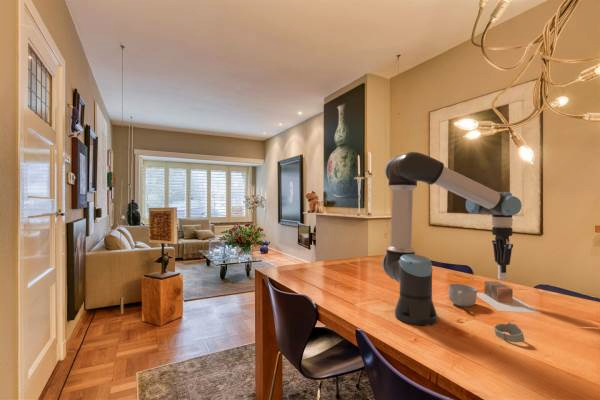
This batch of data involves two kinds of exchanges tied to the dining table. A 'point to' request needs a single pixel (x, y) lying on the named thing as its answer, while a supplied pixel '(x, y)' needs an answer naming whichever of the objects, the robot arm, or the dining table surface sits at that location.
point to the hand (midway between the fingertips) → (502, 279)
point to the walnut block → (499, 292)
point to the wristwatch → (512, 329)
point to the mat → (508, 305)
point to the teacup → (462, 294)
